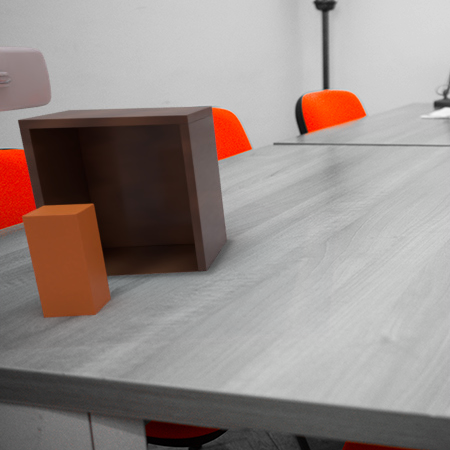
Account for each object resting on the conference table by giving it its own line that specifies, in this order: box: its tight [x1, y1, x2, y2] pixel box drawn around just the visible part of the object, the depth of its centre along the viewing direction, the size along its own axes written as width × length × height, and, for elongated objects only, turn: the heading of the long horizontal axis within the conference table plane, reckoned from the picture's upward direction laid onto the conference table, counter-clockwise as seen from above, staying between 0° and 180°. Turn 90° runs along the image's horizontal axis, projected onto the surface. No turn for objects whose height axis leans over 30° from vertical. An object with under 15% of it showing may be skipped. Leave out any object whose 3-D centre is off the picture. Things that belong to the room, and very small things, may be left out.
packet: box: [21, 204, 112, 319], centre depth 58 cm, size 5×4×12 cm
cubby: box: [17, 105, 228, 277], centre depth 71 cm, size 18×12×20 cm, turn 95°
